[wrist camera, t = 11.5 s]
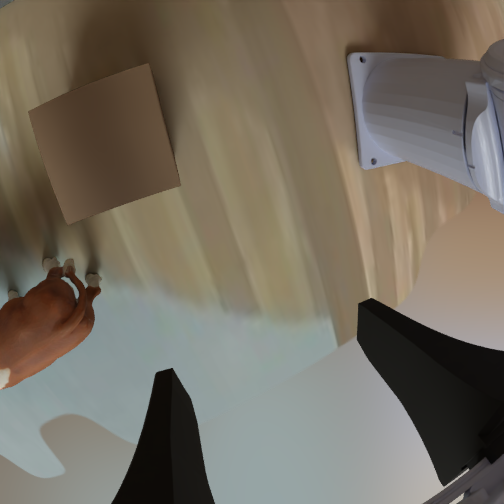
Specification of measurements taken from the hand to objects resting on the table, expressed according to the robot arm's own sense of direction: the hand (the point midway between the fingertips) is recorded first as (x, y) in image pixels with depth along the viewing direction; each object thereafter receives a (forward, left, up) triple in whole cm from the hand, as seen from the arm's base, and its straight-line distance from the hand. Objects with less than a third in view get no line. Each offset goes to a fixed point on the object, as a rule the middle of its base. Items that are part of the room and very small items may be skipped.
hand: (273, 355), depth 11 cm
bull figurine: (+14, 0, -11) cm, 17 cm away
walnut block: (+4, -8, -11) cm, 14 cm away
